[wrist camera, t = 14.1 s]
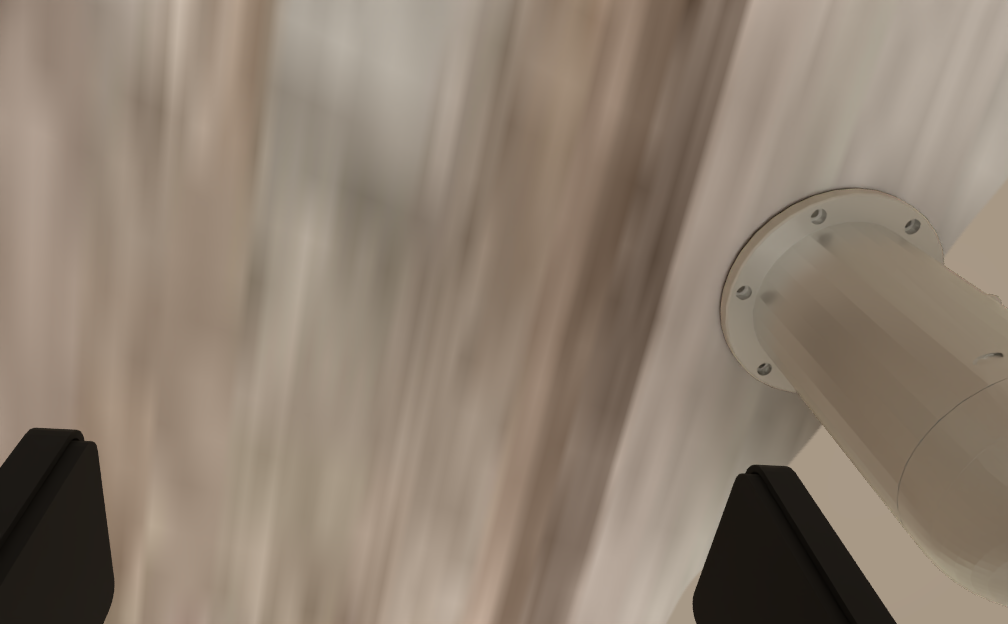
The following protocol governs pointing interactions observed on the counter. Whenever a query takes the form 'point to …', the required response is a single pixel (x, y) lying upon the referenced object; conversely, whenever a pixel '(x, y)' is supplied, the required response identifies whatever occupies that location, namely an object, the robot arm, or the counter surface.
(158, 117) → the counter surface
